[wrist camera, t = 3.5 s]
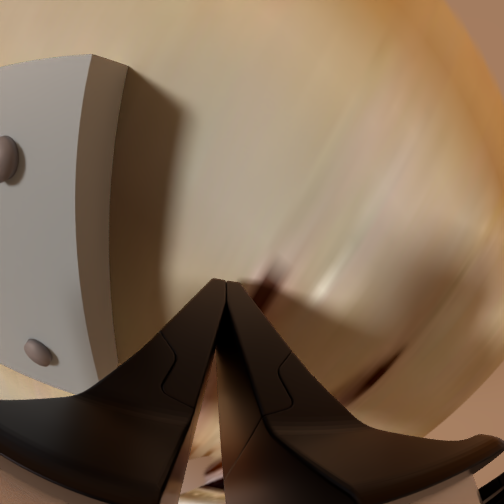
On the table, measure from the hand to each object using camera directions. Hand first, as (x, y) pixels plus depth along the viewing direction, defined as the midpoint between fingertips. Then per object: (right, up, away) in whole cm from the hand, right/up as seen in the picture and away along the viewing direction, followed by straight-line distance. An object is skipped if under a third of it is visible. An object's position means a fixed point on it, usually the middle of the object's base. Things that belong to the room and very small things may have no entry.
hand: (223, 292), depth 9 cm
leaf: (-8, +2, 0) cm, 8 cm away
